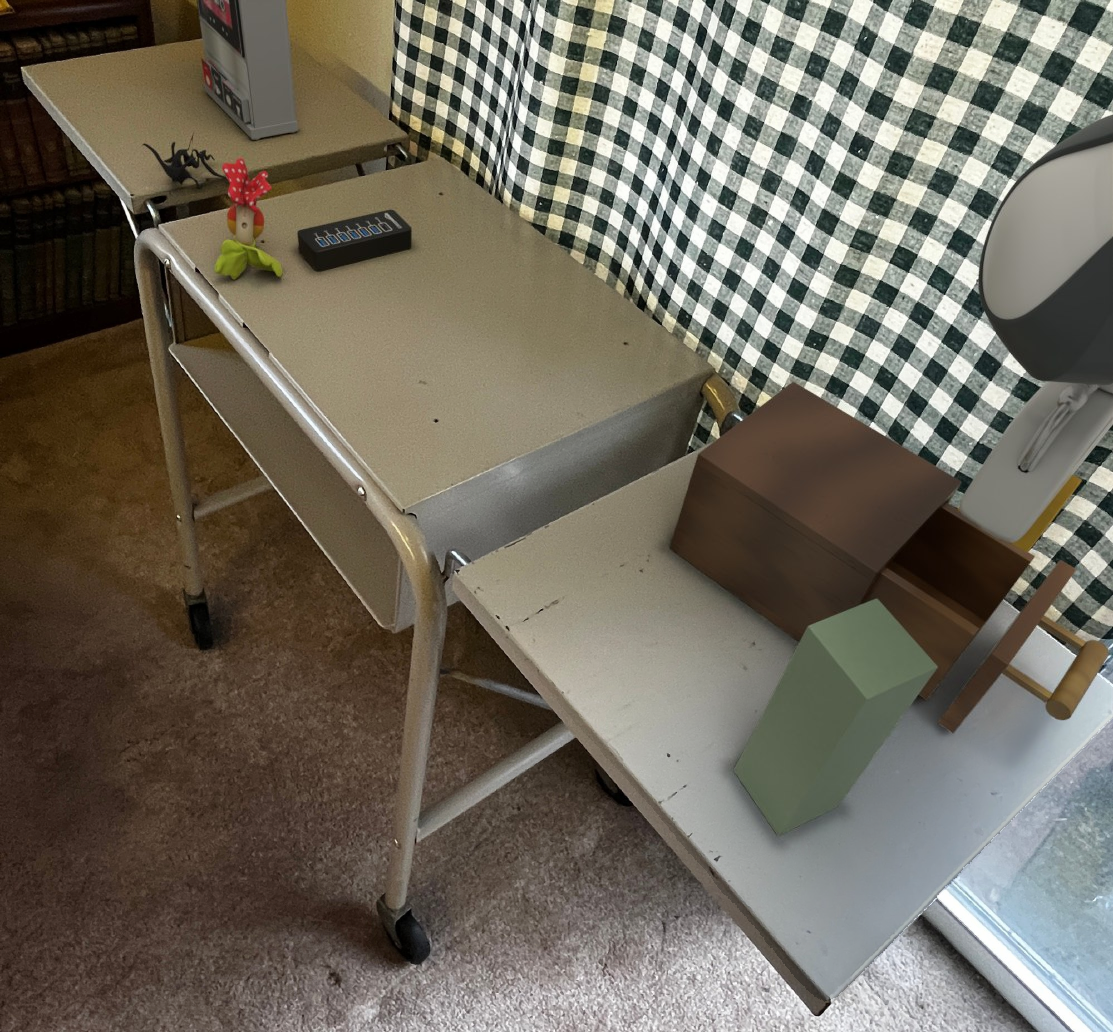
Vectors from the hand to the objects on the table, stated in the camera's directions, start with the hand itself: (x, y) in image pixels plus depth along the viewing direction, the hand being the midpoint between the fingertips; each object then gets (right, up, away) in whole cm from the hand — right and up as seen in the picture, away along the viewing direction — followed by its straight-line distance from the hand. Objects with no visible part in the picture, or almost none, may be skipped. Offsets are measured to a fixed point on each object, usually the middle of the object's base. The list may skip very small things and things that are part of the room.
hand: (1013, 505), depth 60 cm
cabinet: (-10, -4, +16) cm, 19 cm away
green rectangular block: (-14, -18, +2) cm, 23 cm away
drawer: (-1, -10, +10) cm, 15 cm away
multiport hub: (-50, +27, +39) cm, 69 cm away
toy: (0, -1, +1) cm, 1 cm away
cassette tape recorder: (-66, +49, +57) cm, 100 cm away
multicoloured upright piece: (-60, +24, +35) cm, 73 cm away
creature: (-69, +36, +45) cm, 90 cm away
